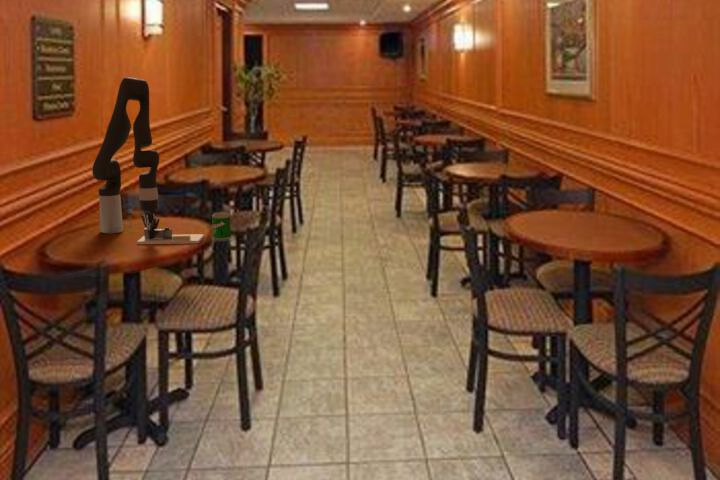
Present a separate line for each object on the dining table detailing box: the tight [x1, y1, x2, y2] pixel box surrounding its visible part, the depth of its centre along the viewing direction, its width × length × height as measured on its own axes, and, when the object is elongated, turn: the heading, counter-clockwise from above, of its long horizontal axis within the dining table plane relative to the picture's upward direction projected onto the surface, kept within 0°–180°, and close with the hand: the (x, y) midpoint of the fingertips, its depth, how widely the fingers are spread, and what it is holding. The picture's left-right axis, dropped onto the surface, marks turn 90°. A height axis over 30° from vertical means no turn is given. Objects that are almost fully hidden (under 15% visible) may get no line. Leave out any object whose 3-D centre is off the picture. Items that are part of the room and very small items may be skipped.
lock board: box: [136, 233, 205, 245], centre depth 331 cm, size 26×13×3 cm, turn 91°
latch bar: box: [143, 227, 173, 239], centre depth 329 cm, size 12×4×4 cm, turn 91°
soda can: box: [211, 211, 232, 242], centre depth 330 cm, size 8×8×12 cm
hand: (151, 238), depth 325 cm, fingers closed
